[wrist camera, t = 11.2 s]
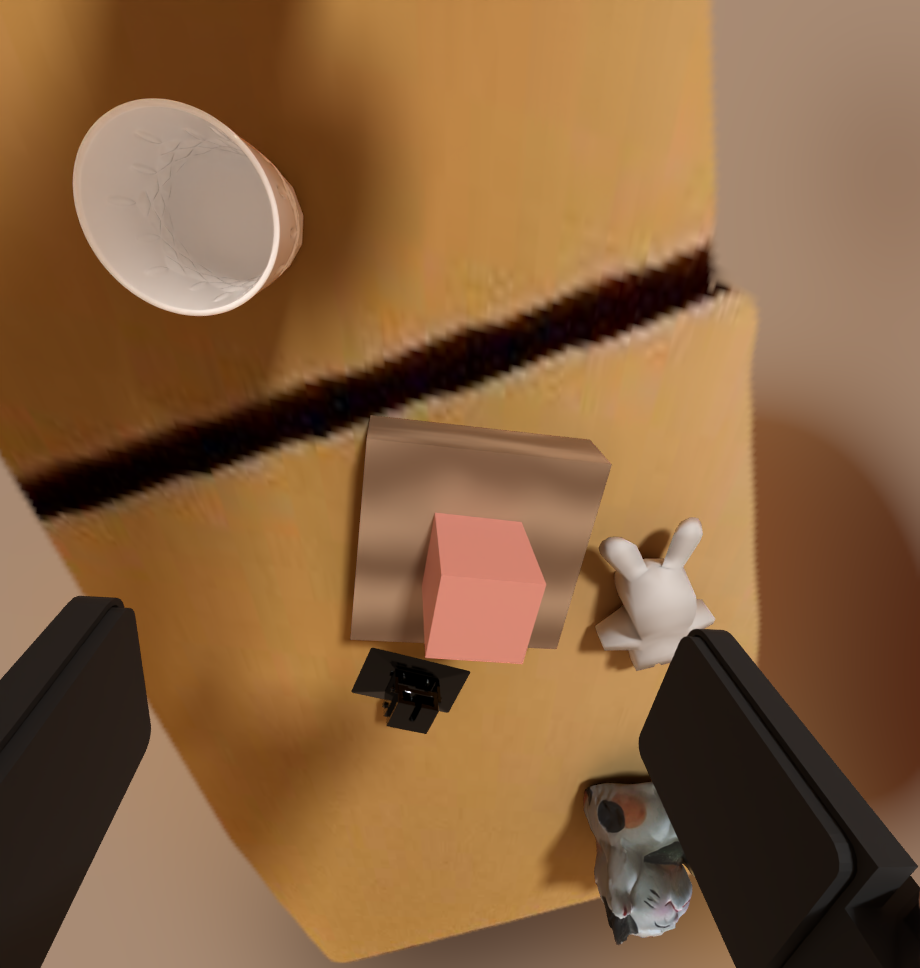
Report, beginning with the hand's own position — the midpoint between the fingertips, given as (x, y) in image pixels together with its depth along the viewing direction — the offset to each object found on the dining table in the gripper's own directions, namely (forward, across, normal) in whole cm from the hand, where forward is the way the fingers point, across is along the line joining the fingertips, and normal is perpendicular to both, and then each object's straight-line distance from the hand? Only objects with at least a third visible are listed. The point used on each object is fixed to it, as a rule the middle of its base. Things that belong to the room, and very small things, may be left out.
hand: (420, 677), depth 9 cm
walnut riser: (+29, -6, +13) cm, 32 cm away
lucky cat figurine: (+28, -30, +46) cm, 62 cm away
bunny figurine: (+29, -22, +18) cm, 40 cm away
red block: (+24, -6, +13) cm, 28 cm away
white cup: (+28, +10, -6) cm, 31 cm away
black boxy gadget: (+29, -4, +30) cm, 42 cm away
